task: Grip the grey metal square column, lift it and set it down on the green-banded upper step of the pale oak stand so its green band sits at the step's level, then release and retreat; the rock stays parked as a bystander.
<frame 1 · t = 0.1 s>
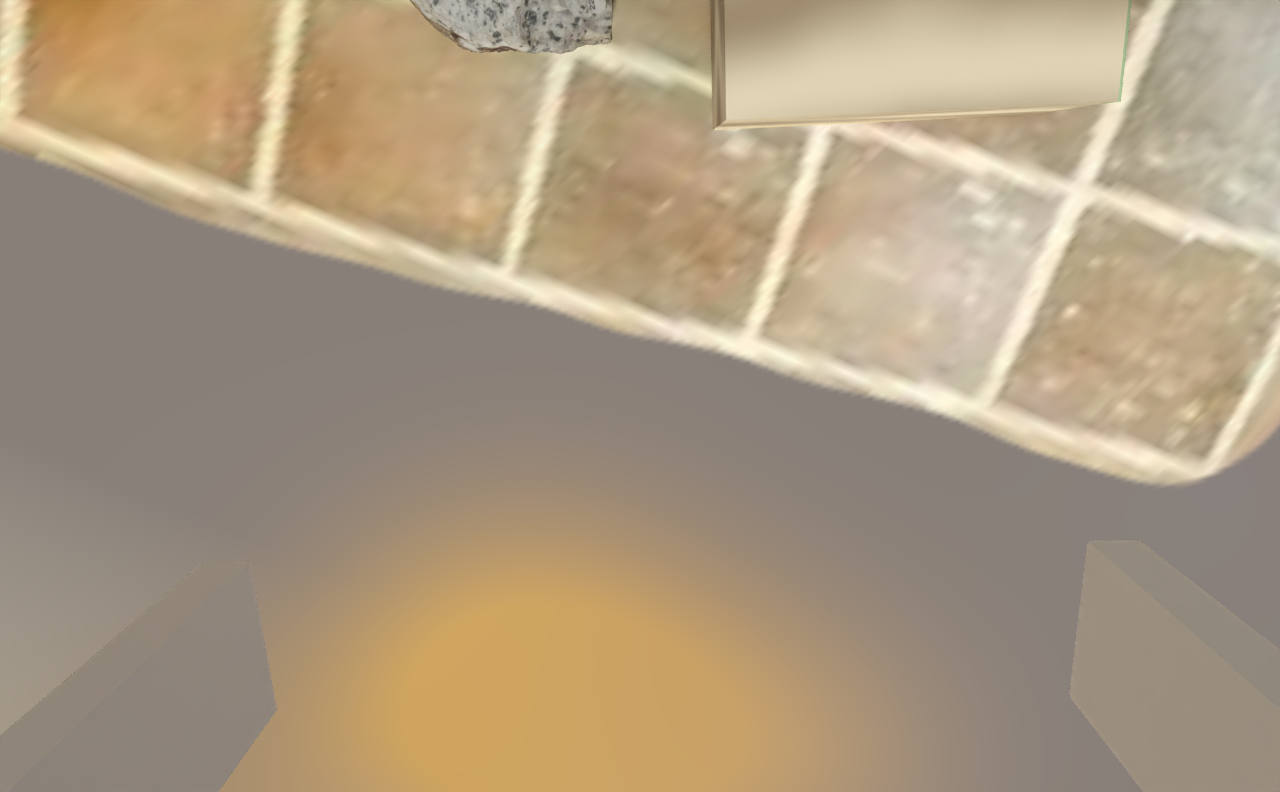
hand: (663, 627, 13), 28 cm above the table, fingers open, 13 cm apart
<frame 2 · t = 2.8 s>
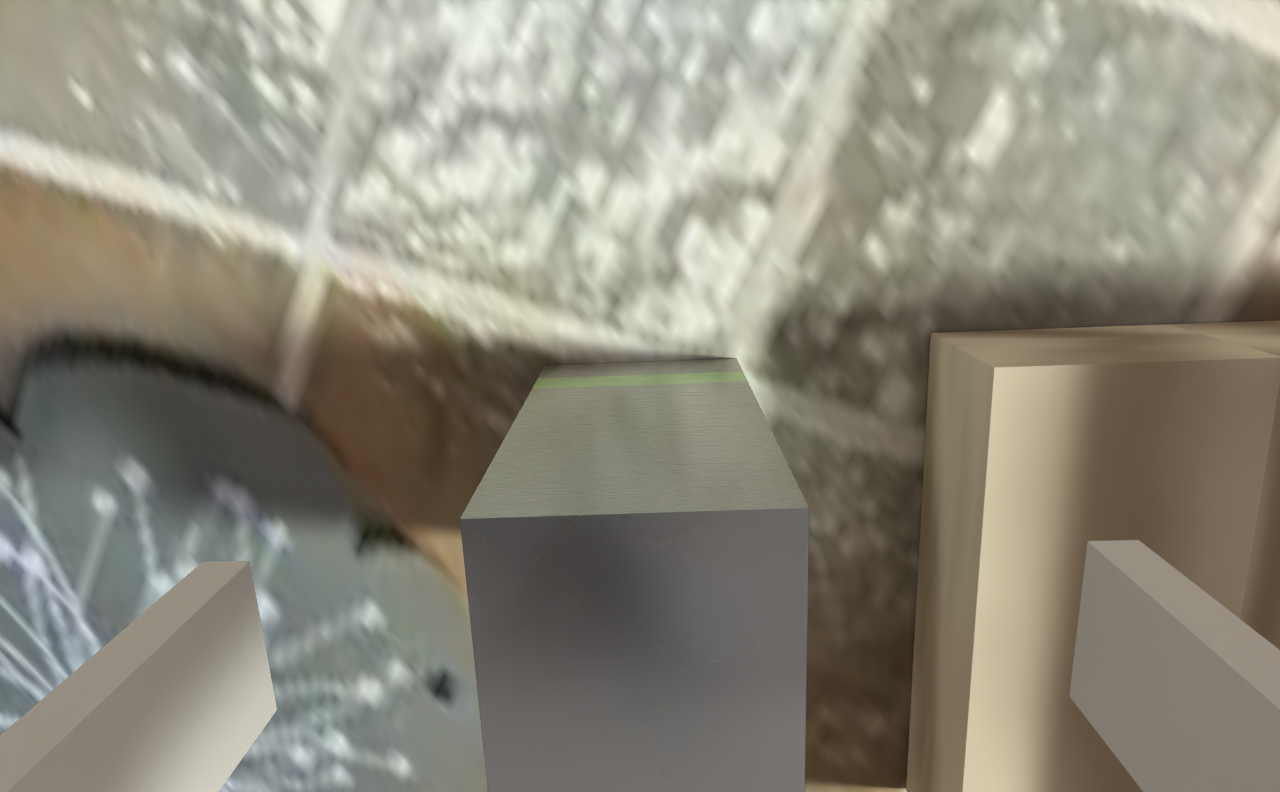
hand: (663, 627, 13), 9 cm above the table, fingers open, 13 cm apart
stand: (1225, 570, 23), on the table
column: (644, 452, 22), on the table
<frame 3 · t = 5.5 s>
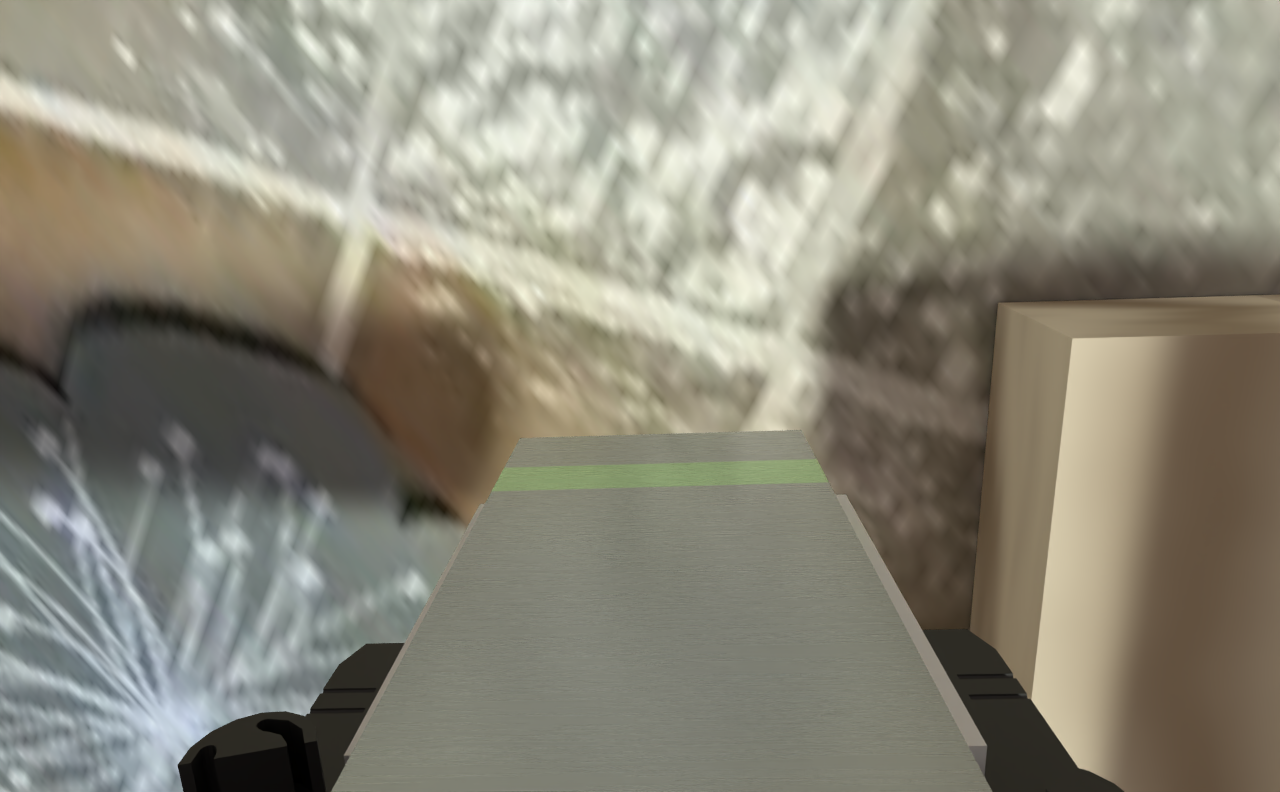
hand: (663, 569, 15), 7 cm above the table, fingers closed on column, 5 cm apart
column: (664, 562, 15), point 7 cm above the table, touching gripper
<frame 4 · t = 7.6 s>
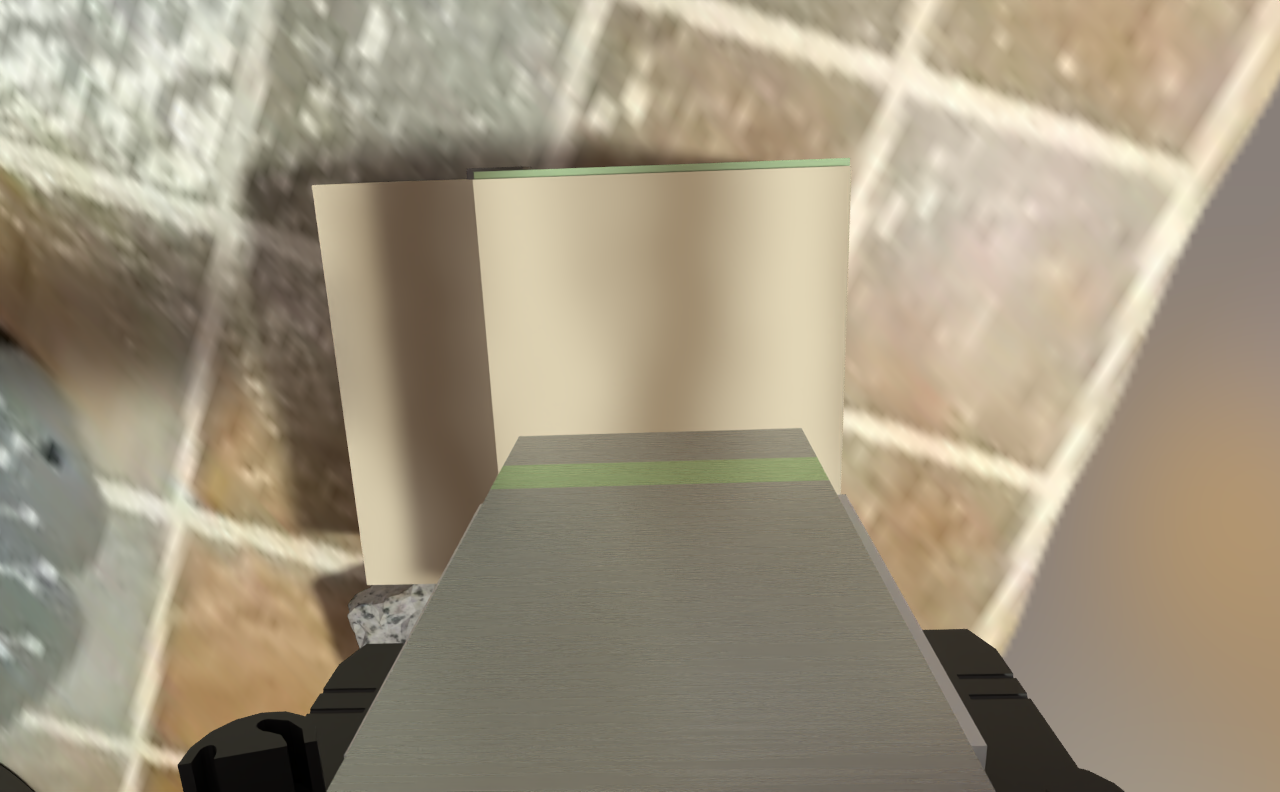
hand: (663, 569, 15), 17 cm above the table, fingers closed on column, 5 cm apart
rock: (533, 633, 35), on the table
stand: (600, 364, 31), on the table
column: (663, 560, 15), point 17 cm above the table, touching gripper
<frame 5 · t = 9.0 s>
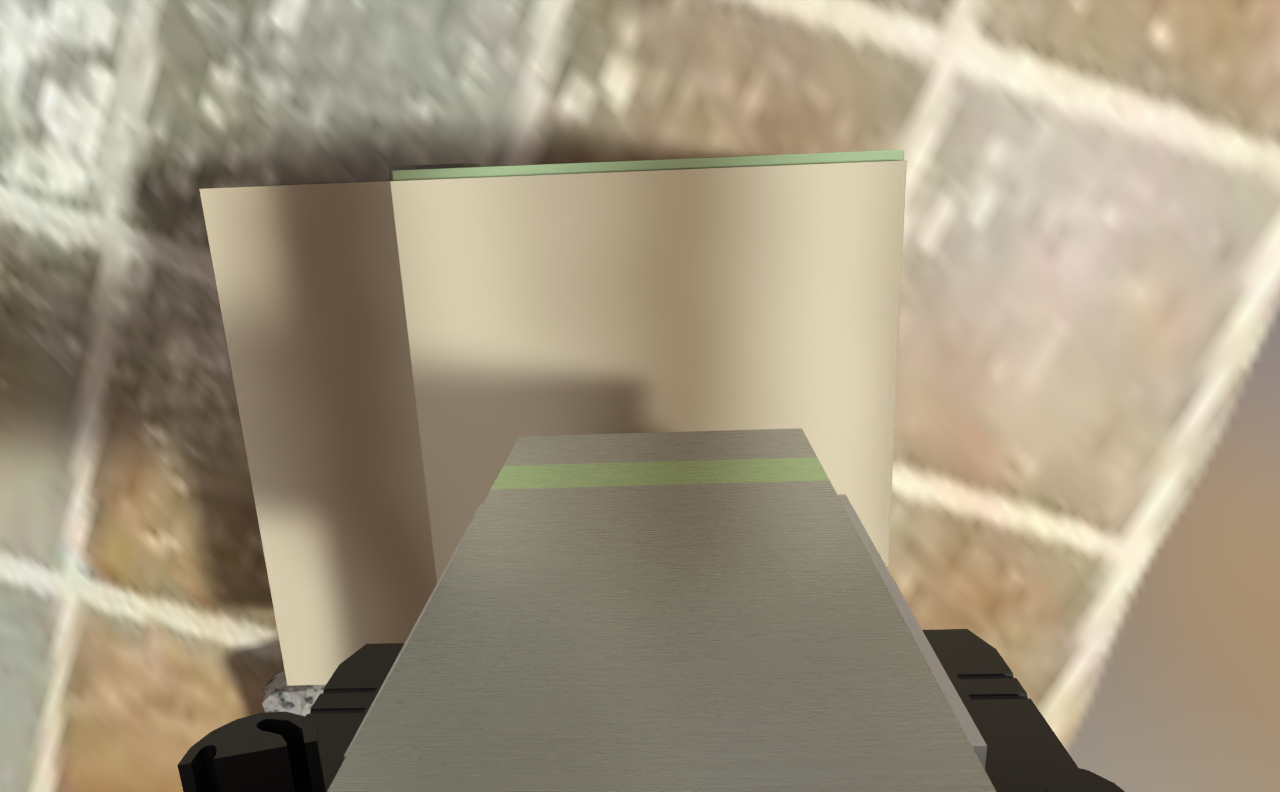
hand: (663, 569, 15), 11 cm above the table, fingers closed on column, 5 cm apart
rock: (492, 721, 29), on the table
stand: (577, 406, 25), on the table
column: (664, 560, 15), point 11 cm above the table, touching gripper
when the fingers open (9 cm above the table, at t = 10.0 s): column stays where it is, resting on stand.
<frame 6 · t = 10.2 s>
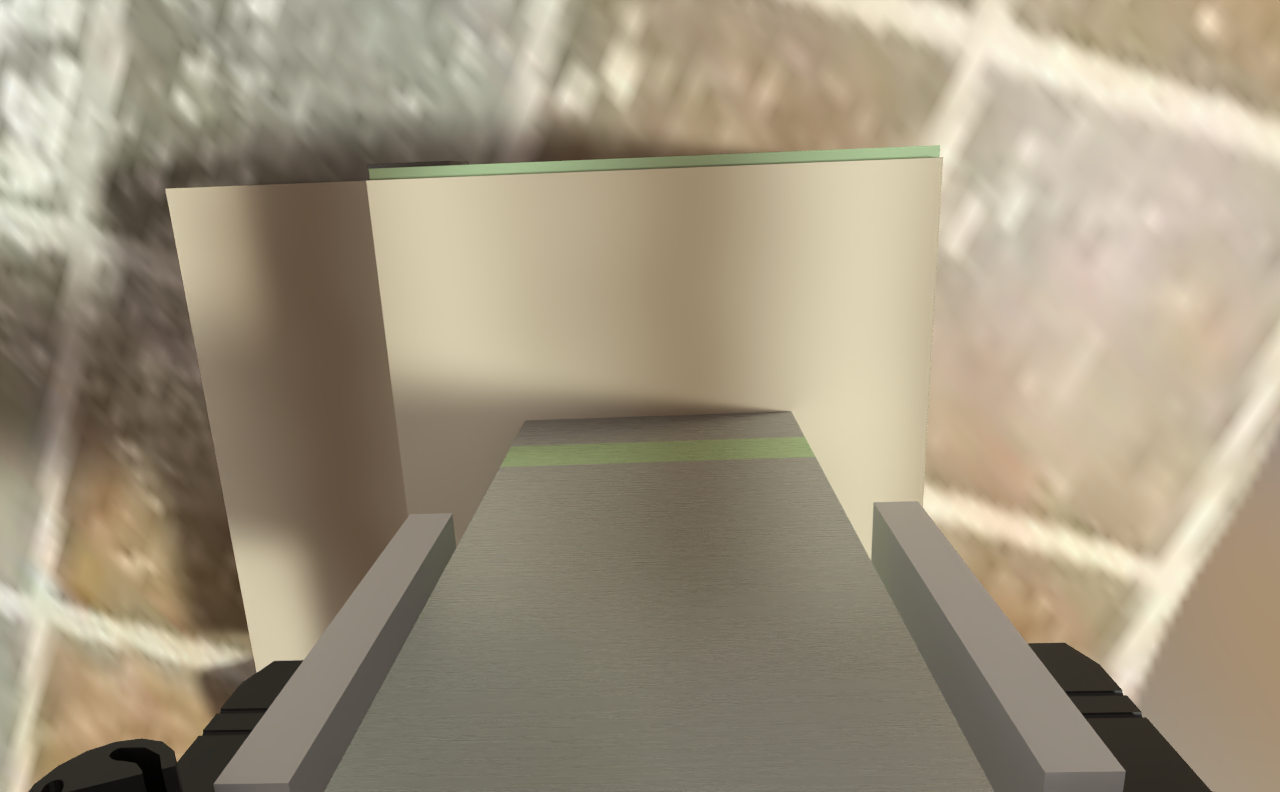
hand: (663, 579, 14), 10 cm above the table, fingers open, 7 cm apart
stand: (577, 421, 24), on the table
column: (662, 537, 16), point 8 cm above the table, touching stand
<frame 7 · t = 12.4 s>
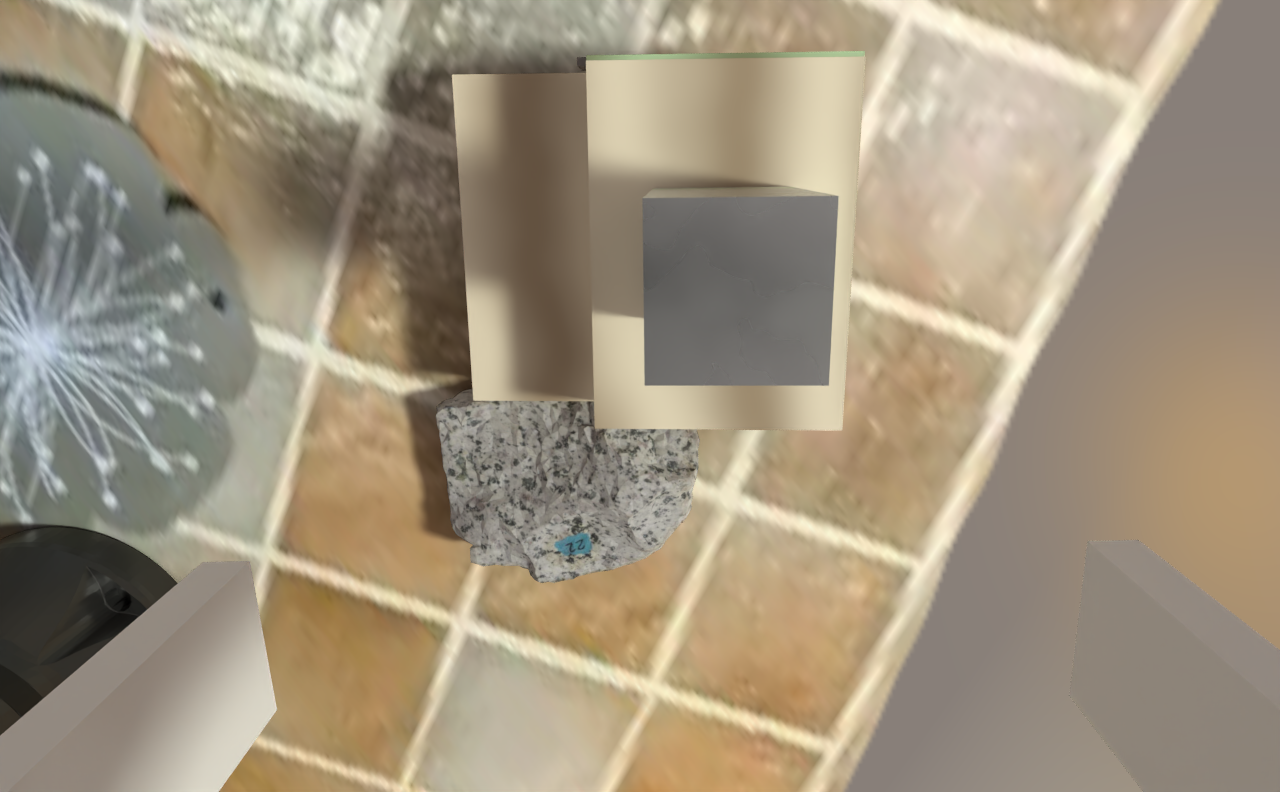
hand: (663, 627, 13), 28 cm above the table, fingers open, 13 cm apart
rock: (576, 458, 43), on the table
stand: (660, 237, 39), on the table
column: (720, 254, 31), point 8 cm above the table, touching stand
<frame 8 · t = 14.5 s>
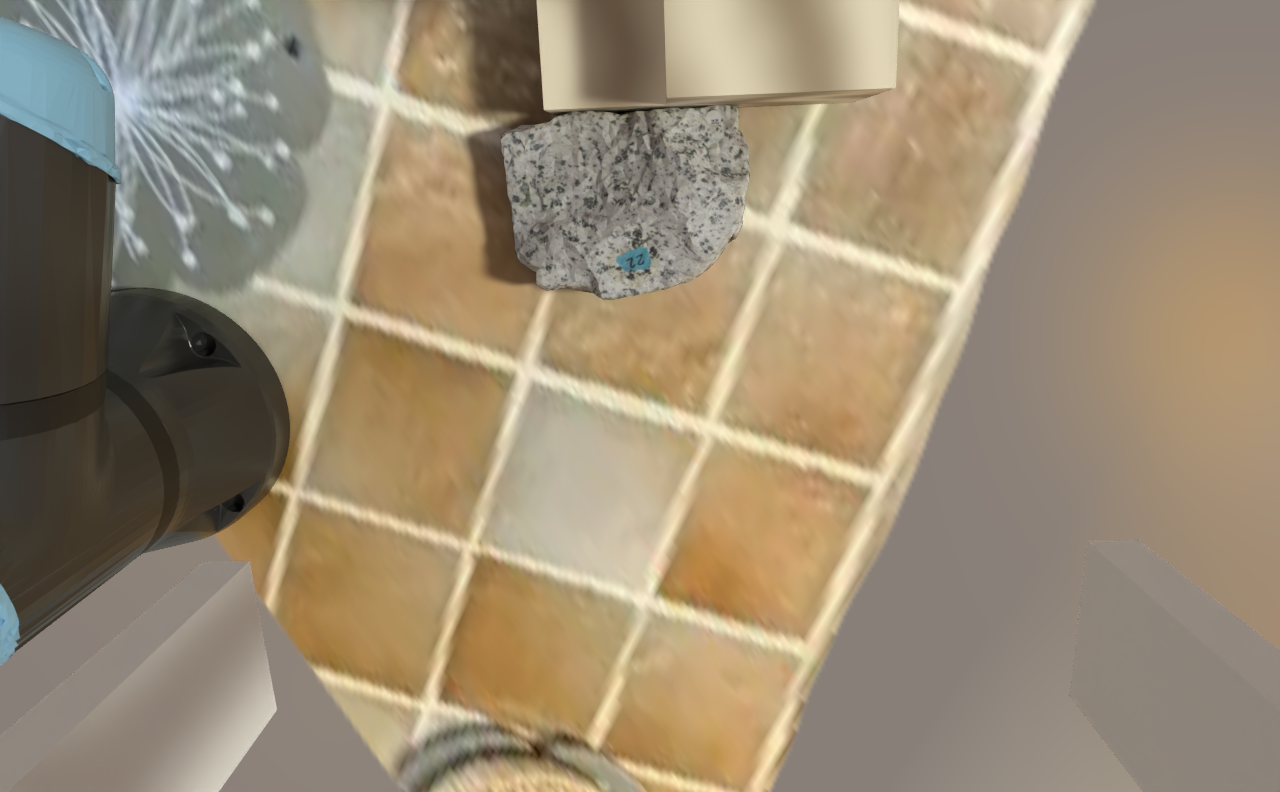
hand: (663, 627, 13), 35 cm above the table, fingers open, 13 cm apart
rock: (629, 197, 45), on the table
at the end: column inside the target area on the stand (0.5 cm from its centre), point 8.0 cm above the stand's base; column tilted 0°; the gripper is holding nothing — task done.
